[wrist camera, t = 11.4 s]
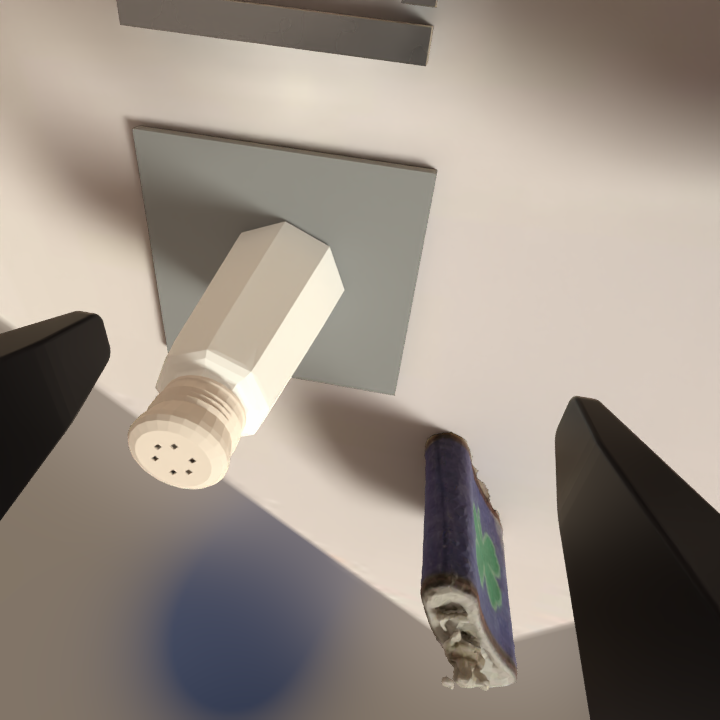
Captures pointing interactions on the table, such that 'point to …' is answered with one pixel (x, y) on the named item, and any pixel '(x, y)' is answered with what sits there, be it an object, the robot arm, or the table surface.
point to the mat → (304, 211)
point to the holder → (286, 27)
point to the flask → (465, 569)
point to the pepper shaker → (236, 354)
